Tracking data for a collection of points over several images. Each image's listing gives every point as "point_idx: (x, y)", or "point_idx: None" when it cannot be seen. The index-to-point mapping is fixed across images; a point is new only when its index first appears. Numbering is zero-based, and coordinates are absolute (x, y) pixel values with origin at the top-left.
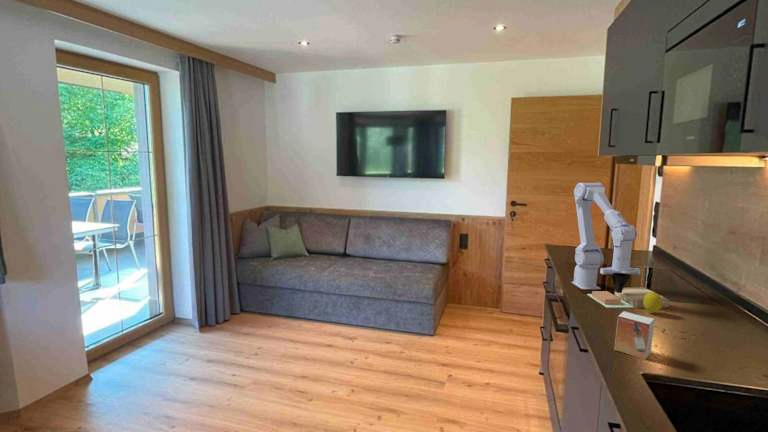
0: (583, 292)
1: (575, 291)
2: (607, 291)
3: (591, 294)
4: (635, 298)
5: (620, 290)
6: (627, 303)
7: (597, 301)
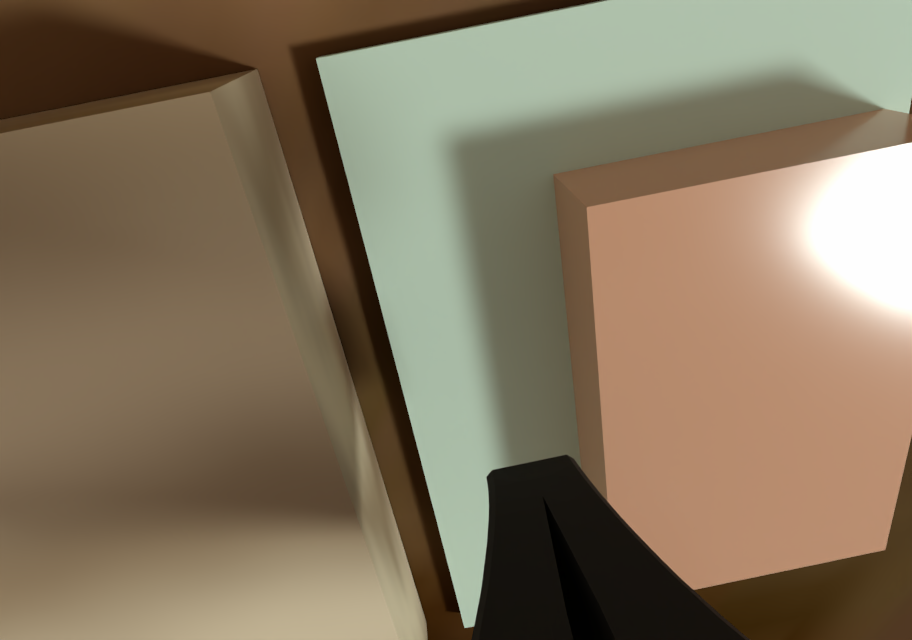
0: (811, 608)
1: (893, 617)
2: None
3: None
4: (233, 230)
5: (547, 496)
6: (386, 257)
7: None
